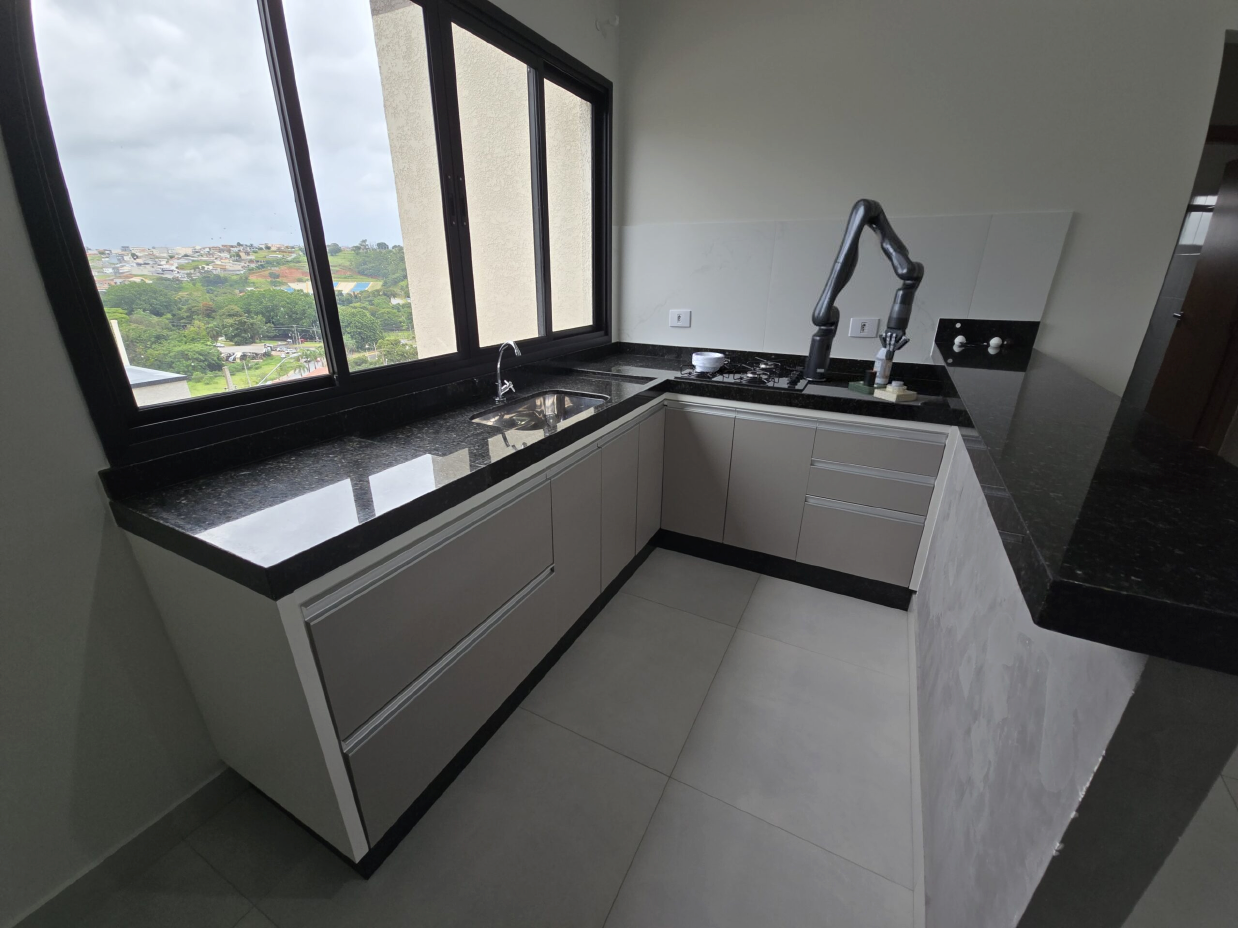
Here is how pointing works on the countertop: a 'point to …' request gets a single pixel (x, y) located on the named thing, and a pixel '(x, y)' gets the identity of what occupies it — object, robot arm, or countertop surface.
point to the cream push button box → (895, 393)
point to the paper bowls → (708, 361)
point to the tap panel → (865, 387)
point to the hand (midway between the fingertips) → (888, 359)
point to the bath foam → (882, 367)
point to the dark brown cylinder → (870, 377)
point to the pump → (897, 384)
